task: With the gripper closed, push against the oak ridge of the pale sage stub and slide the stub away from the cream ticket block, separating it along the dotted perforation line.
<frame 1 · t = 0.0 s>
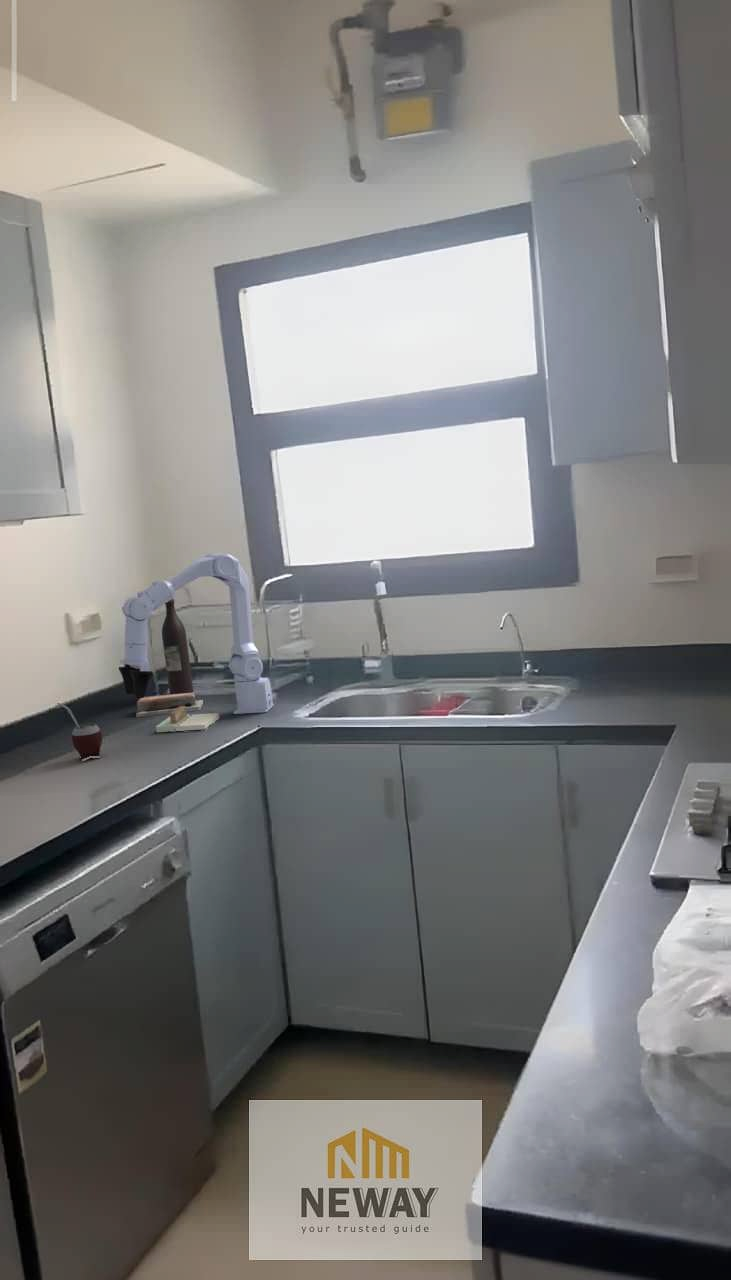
hand: (134, 695, 275), 11 cm above the countertop, tool pointing down, fingers open, 7 cm apart
mate gourd: (88, 759, 259), on the countertop
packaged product: (170, 712, 303), on the countertop
wine bottle: (182, 697, 319), on the countertop
ticket block: (198, 725, 281), on the countertop
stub: (172, 717, 282), point 2 cm above the countertop, slide at 0.0 cm
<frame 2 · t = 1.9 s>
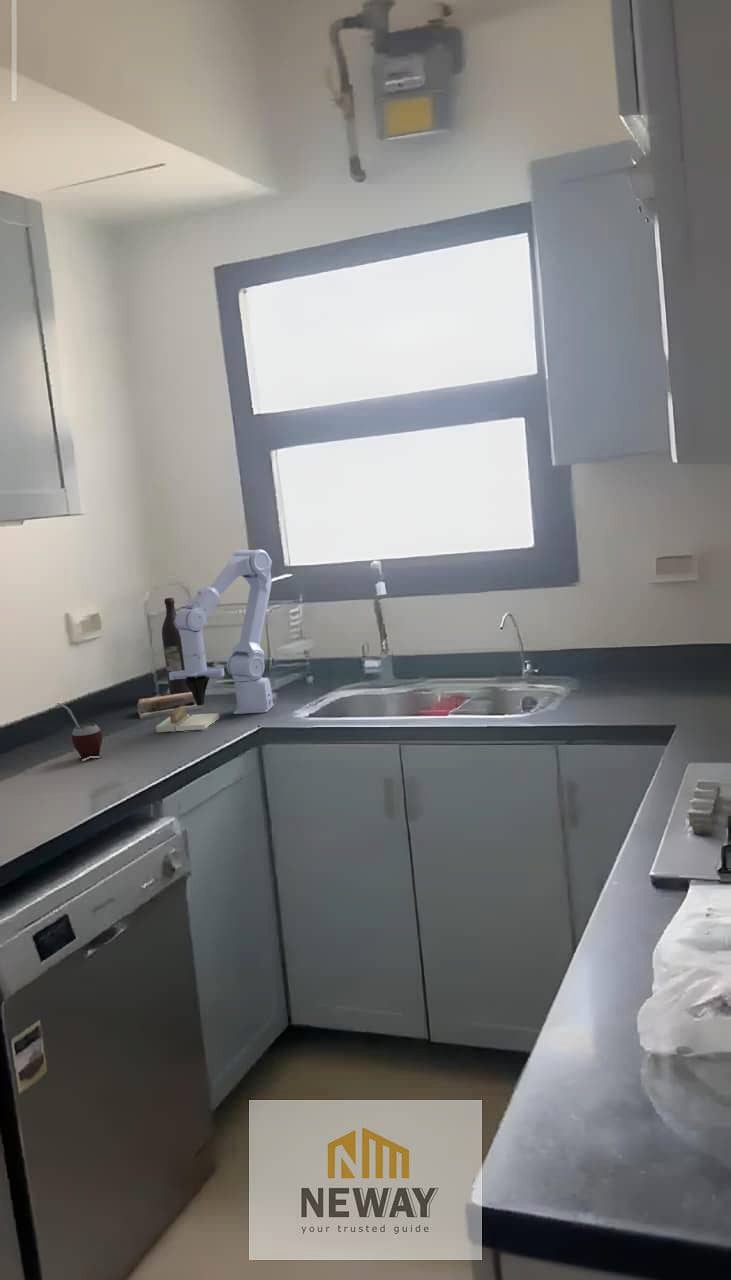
hand: (200, 704, 280), 5 cm above the countertop, tool pointing down, fingers closed
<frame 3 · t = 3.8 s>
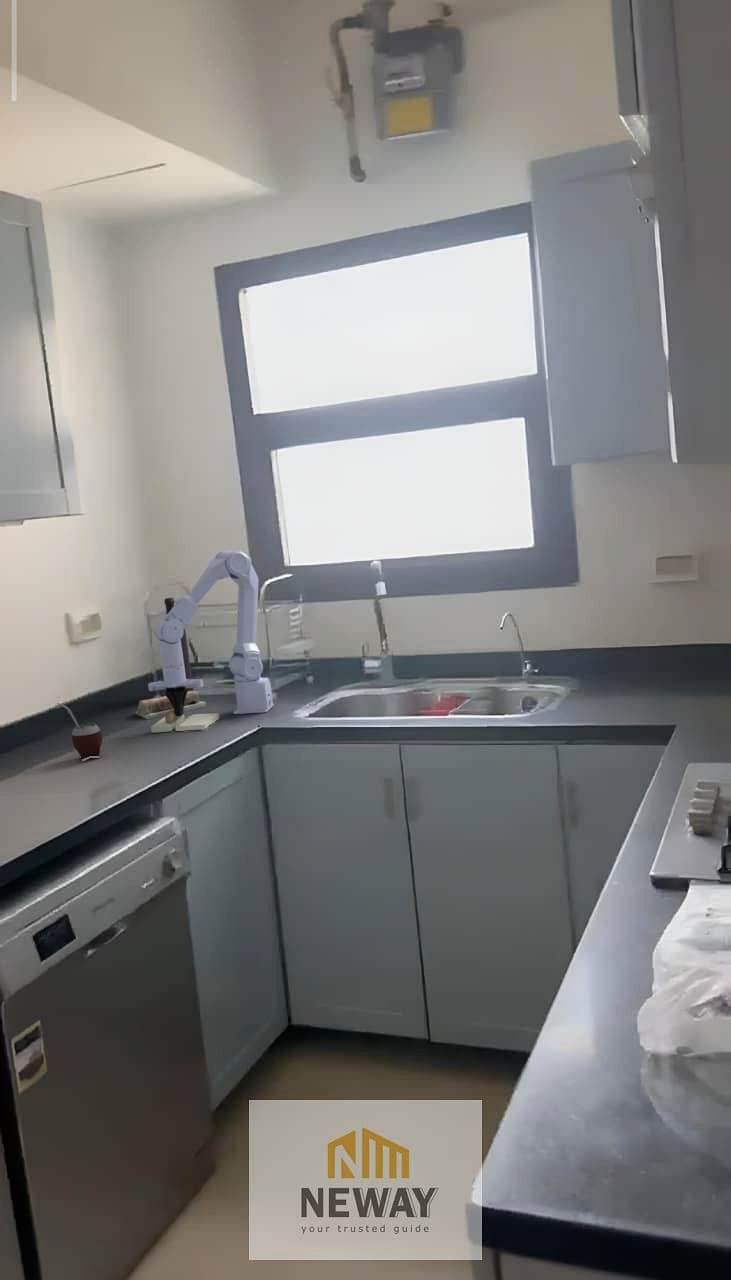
hand: (179, 715, 282), 3 cm above the countertop, tool pointing down, fingers closed
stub: (167, 718, 282), point 2 cm above the countertop, slide at 1.4 cm, touching gripper
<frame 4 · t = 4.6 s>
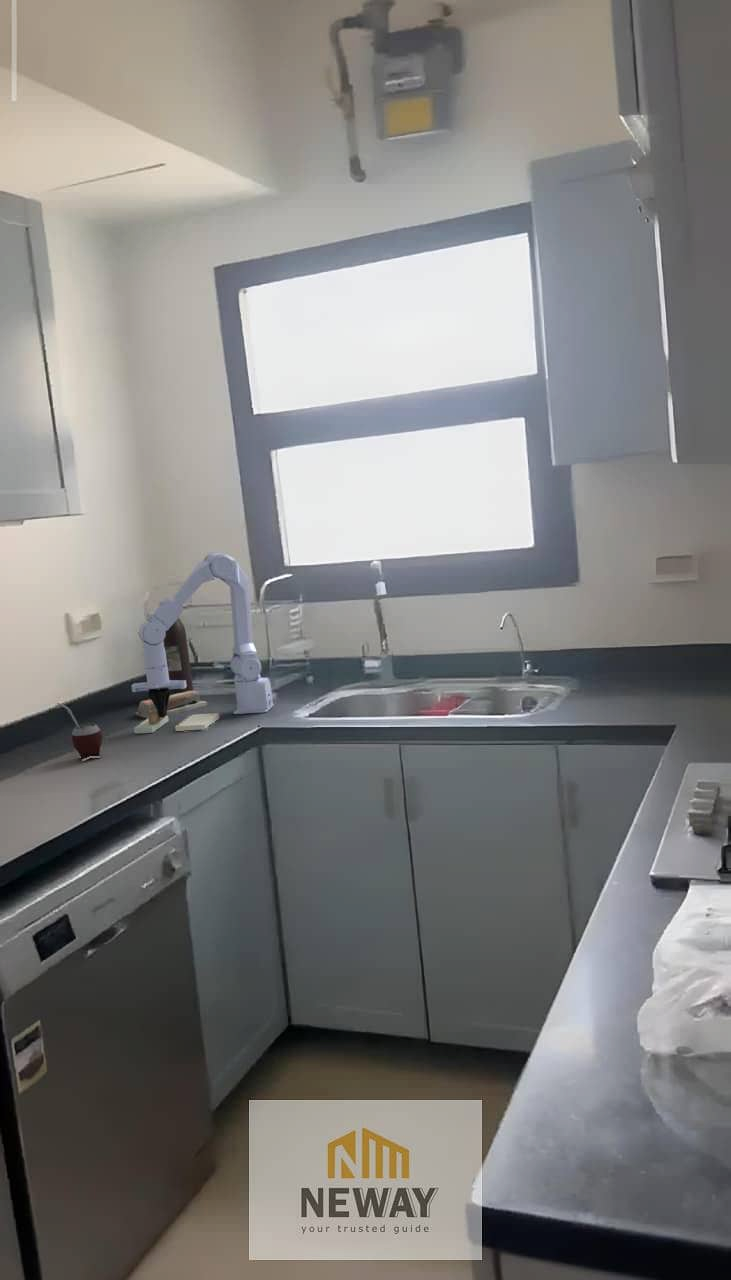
hand: (163, 716, 282), 3 cm above the countertop, tool pointing down, fingers closed
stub: (150, 719, 283), point 2 cm above the countertop, slide at 6.1 cm, touching gripper
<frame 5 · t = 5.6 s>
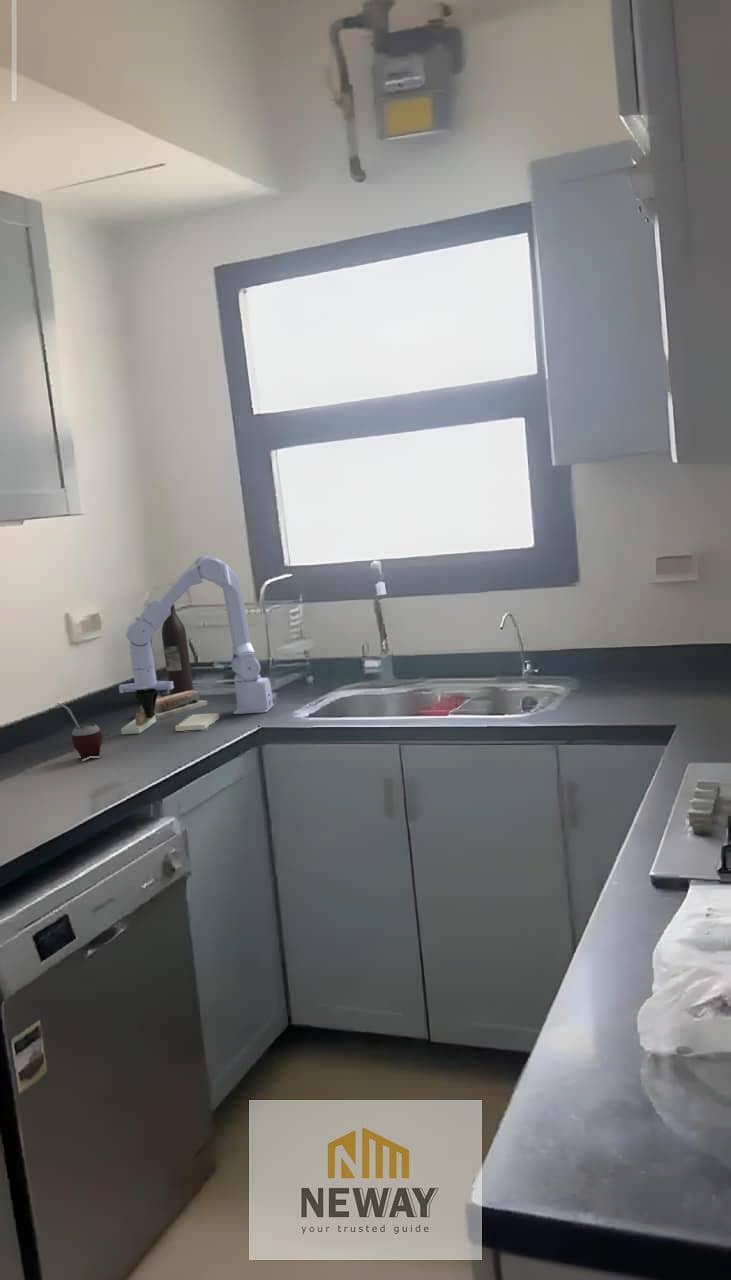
hand: (150, 717, 283), 3 cm above the countertop, tool pointing down, fingers closed
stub: (138, 720, 284), point 2 cm above the countertop, slide at 9.6 cm, touching gripper
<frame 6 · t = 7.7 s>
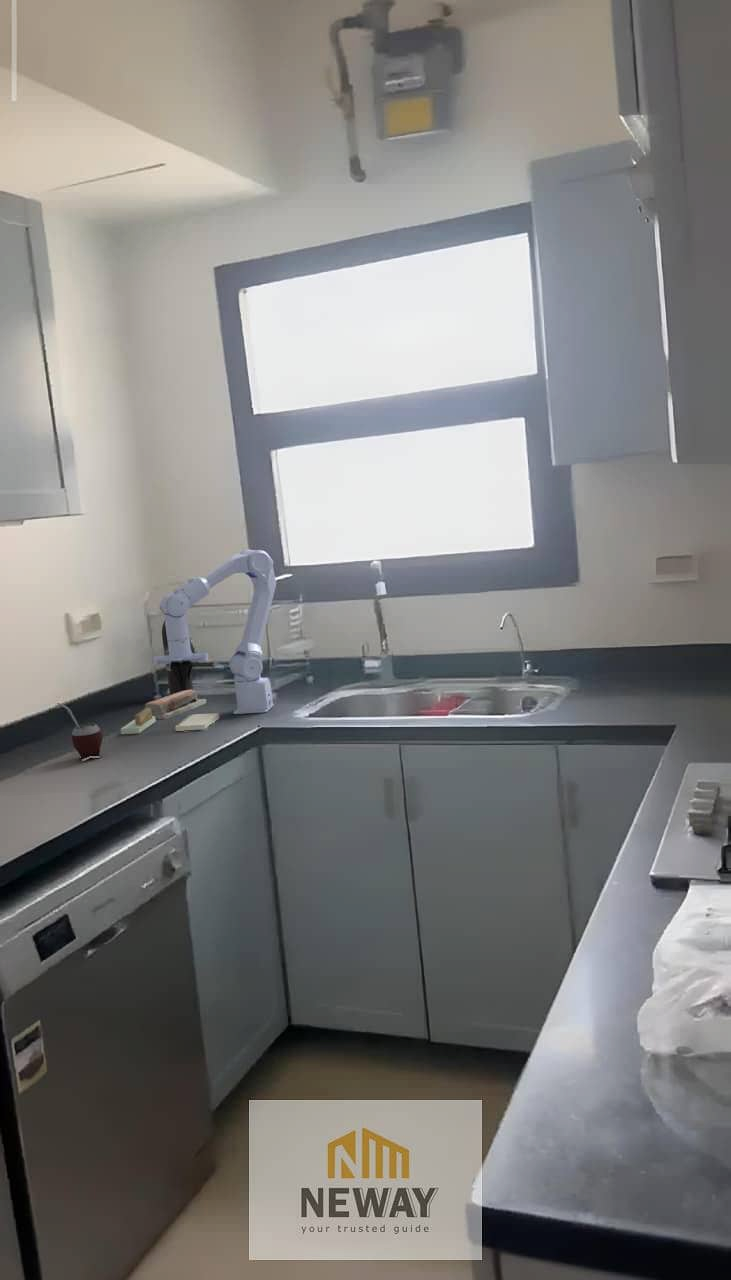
hand: (185, 689, 282), 9 cm above the countertop, tool pointing down, fingers closed
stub: (137, 720, 284), point 2 cm above the countertop, slide at 9.8 cm
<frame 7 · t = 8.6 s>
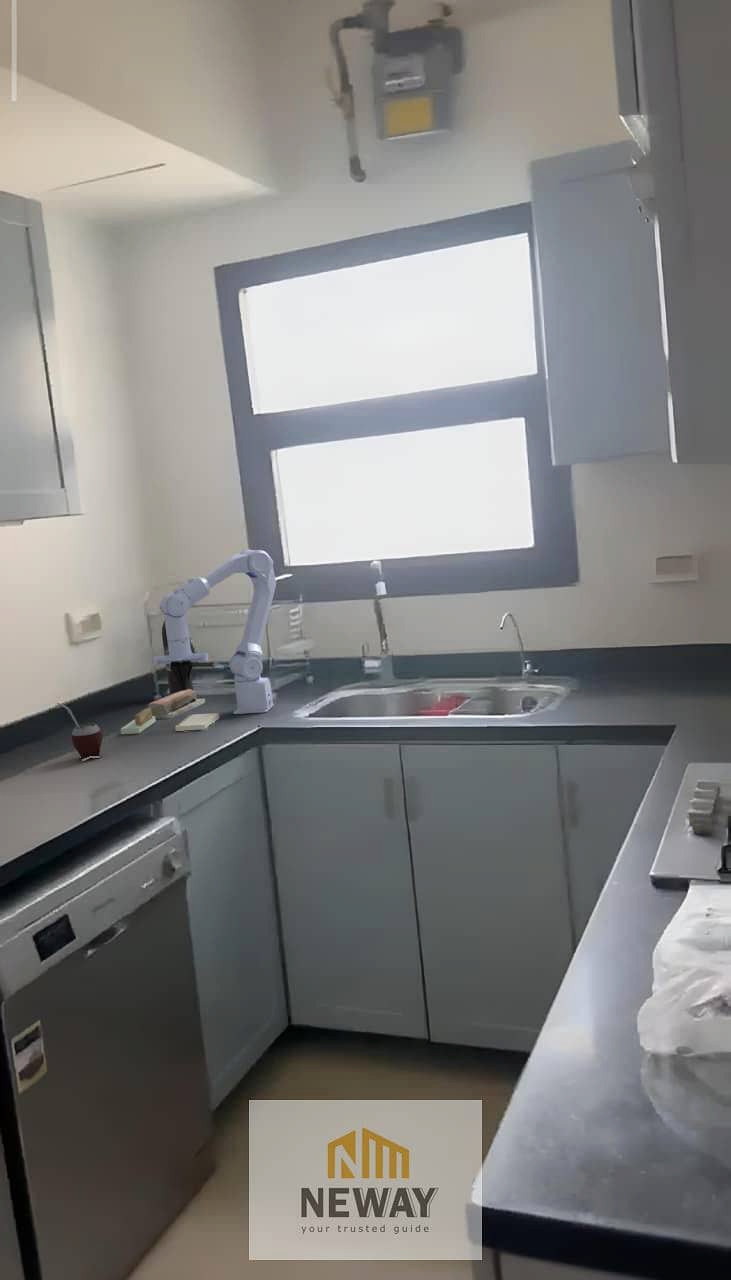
hand: (185, 689, 282), 9 cm above the countertop, tool pointing down, fingers closed
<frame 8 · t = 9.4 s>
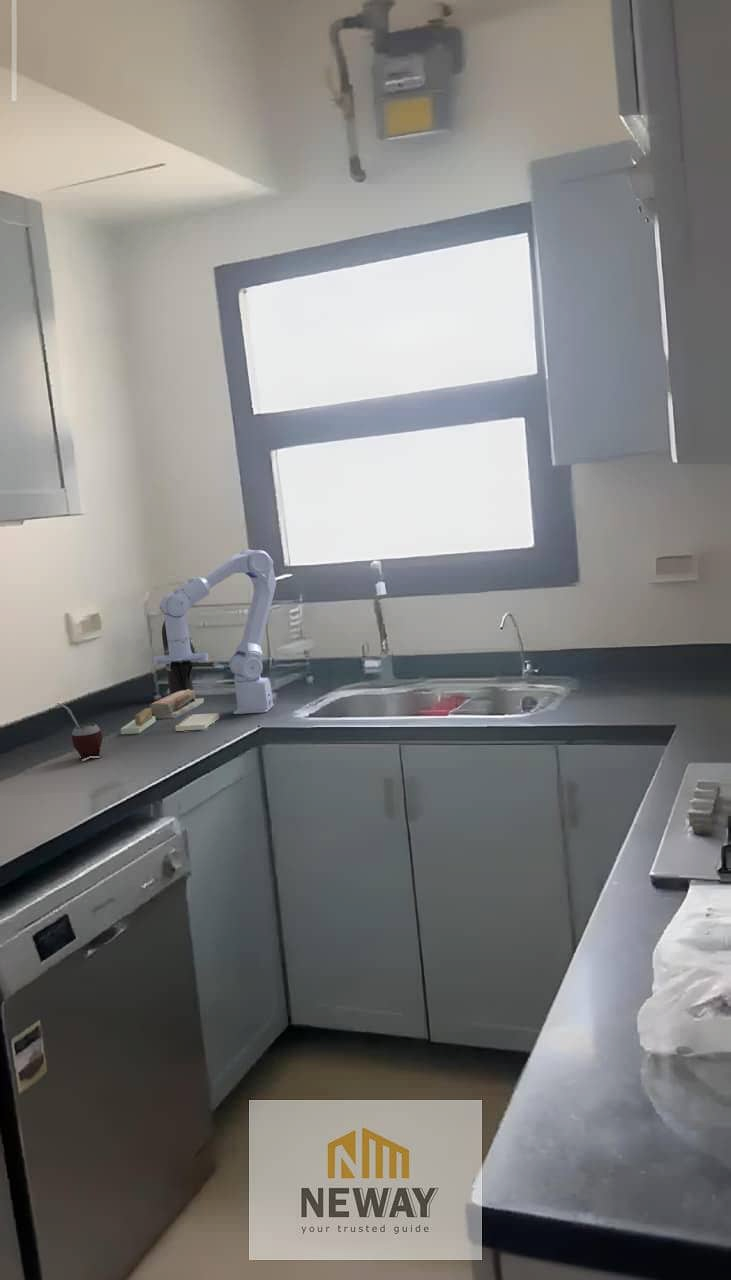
hand: (185, 689, 282), 9 cm above the countertop, tool pointing down, fingers closed
at the end: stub slide at 9.8 cm; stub 0.1 cm from the target spot, on the countertop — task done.
